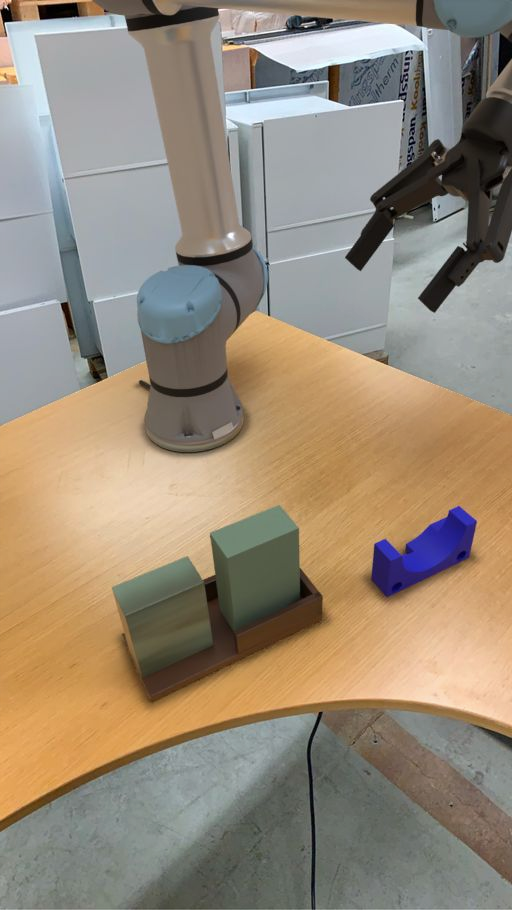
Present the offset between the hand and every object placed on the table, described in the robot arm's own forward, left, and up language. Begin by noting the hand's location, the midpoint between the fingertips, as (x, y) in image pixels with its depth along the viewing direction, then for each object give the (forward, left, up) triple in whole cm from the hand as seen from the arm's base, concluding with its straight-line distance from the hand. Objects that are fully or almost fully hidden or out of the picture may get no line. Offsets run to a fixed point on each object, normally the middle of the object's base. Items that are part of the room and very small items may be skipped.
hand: (386, 284), depth 74 cm
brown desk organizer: (+5, -32, -28) cm, 43 cm away
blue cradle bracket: (+15, -10, -28) cm, 33 cm away
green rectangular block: (+7, -28, -27) cm, 39 cm away
